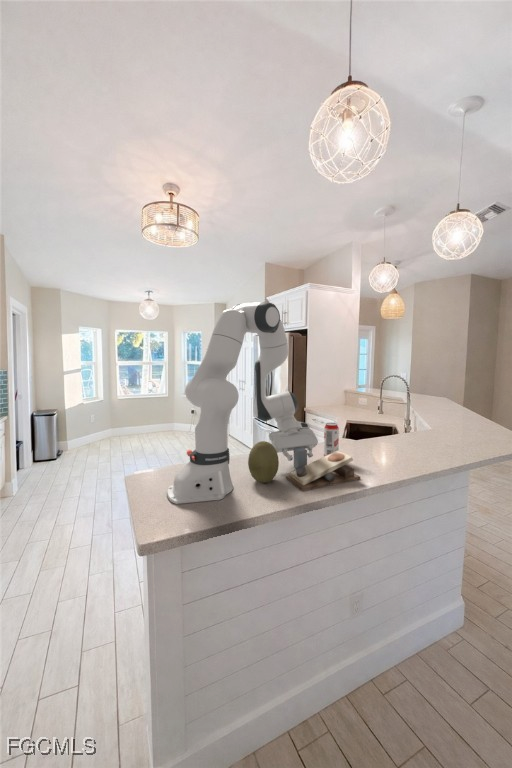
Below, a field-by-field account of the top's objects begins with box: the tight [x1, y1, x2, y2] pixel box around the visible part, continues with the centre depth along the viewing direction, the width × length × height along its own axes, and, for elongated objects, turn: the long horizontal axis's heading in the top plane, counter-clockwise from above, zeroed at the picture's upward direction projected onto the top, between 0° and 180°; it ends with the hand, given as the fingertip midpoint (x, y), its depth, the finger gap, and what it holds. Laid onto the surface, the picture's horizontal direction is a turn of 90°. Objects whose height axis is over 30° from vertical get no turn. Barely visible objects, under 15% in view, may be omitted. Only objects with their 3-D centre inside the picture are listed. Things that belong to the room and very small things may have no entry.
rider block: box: [293, 448, 308, 470], centre depth 130 cm, size 4×4×8 cm
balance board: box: [289, 450, 354, 486], centre depth 118 cm, size 22×9×4 cm, turn 112°
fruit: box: [247, 440, 280, 484], centre depth 117 cm, size 11×11×15 cm
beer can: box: [323, 422, 340, 457], centre depth 140 cm, size 6×6×16 cm
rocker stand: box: [285, 464, 361, 492], centre depth 119 cm, size 25×12×4 cm, turn 112°
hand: (301, 458), depth 129 cm, fingers open, 8 cm apart
